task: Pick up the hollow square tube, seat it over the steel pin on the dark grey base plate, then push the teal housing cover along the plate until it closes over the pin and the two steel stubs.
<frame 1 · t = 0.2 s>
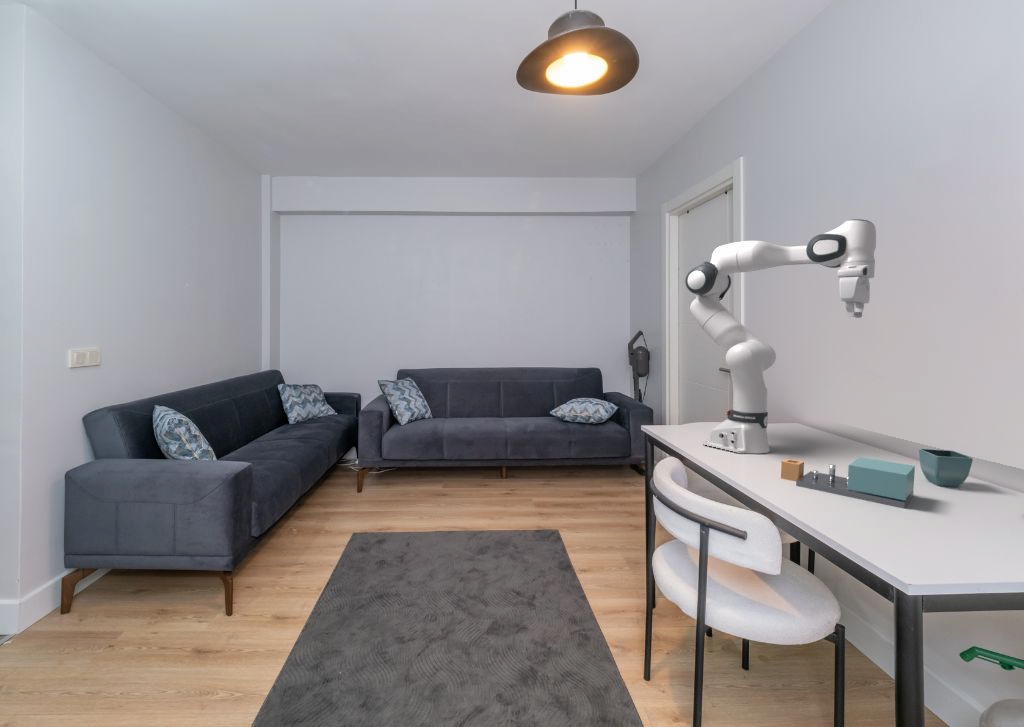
hand: (854, 317, 154), 47 cm above the table, fingers open, 8 cm apart
hollow square tube: (792, 478, 145), on the table
flower pot: (942, 484, 140), on the table
housing cover: (881, 477, 129), point 5 cm above the table, slide at 0.0 cm
housing base: (852, 490, 134), on the table
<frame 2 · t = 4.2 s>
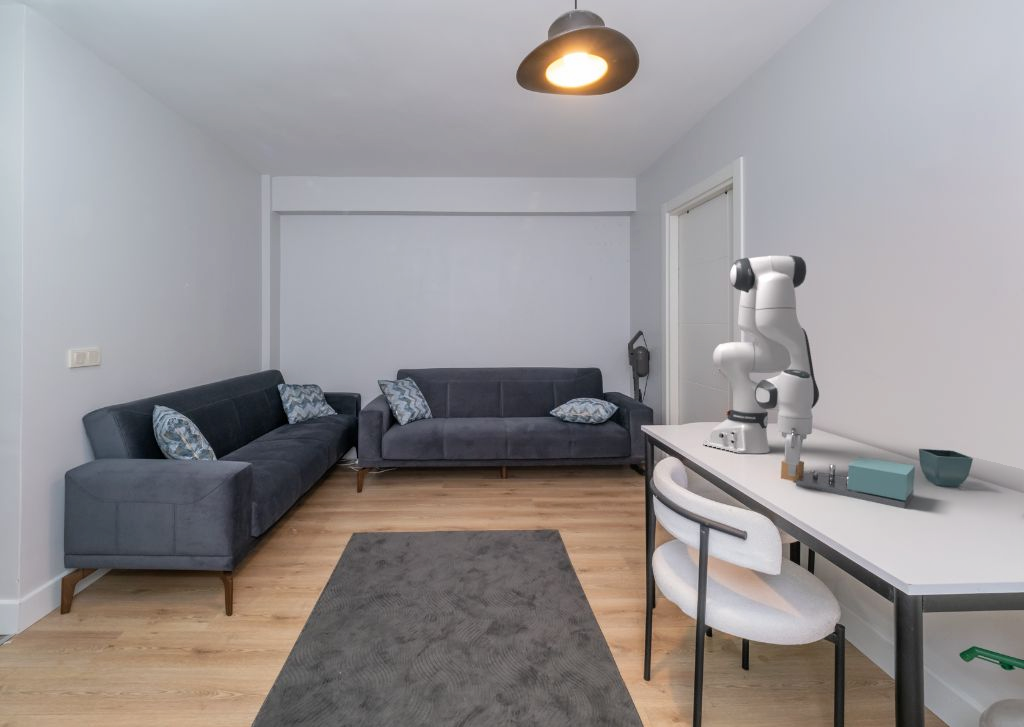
hand: (792, 472, 145), 2 cm above the table, fingers closed on hollow square tube, 5 cm apart
hollow square tube: (792, 478, 145), on the table, touching gripper
everything else where it was.
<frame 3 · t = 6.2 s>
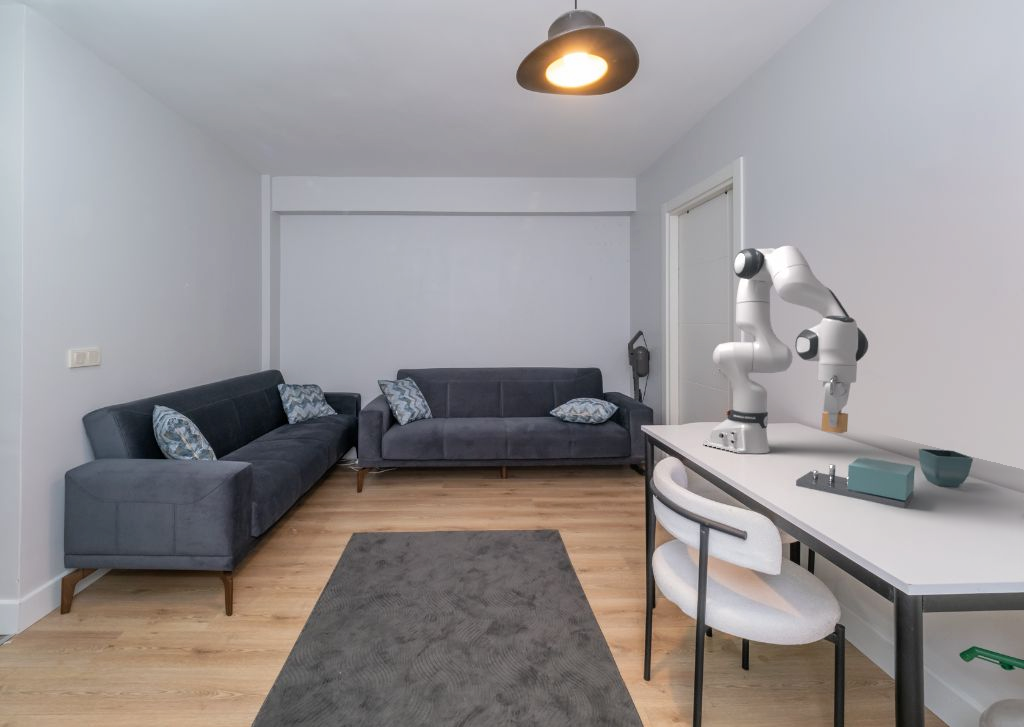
hand: (834, 425, 136), 17 cm above the table, fingers closed on hollow square tube, 5 cm apart
hollow square tube: (834, 431, 136), point 16 cm above the table, touching gripper
everything else where it was.
when the fingers open (4 cm above the table, at t = 8.4 s): hollow square tube stays where it is, resting on housing base.
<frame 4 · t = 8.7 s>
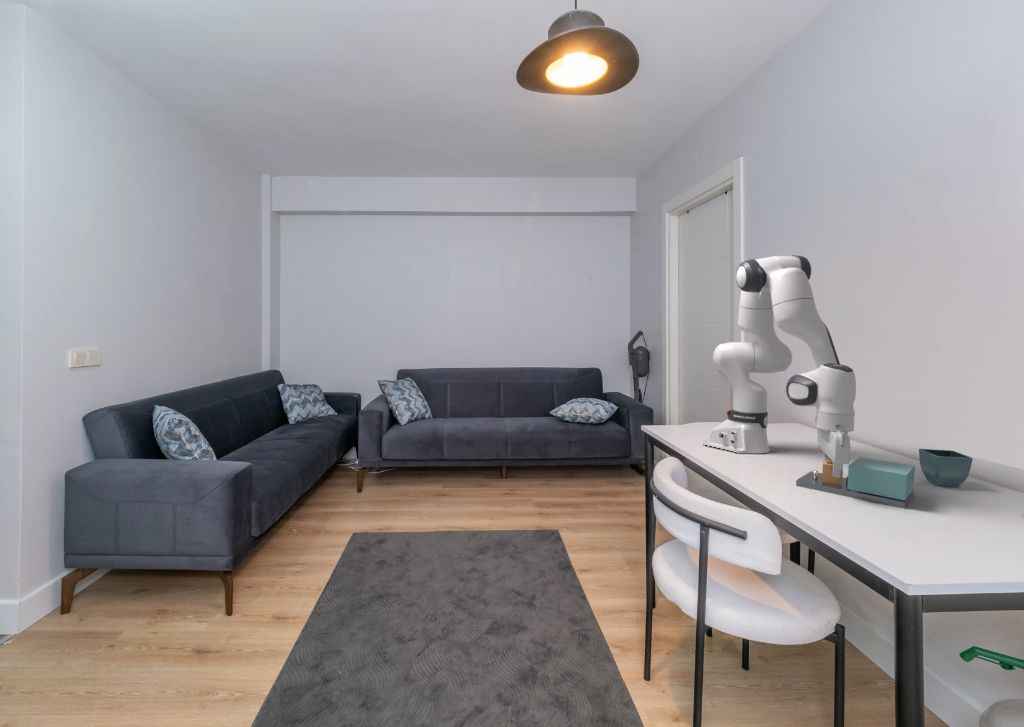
hand: (832, 471, 137), 4 cm above the table, fingers open, 8 cm apart
hollow square tube: (831, 480, 138), point 1 cm above the table, touching housing base
everything else where it was.
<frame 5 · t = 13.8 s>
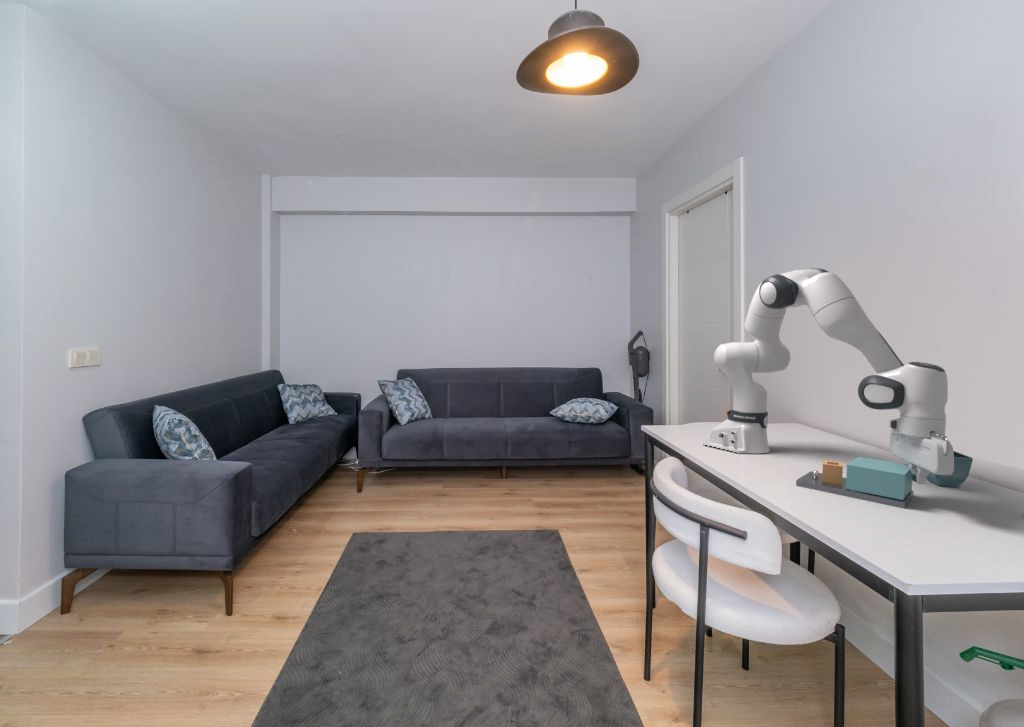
hand: (918, 482, 124), 5 cm above the table, fingers closed
housing cover: (879, 477, 130), point 5 cm above the table, slide at 0.4 cm, touching gripper
everything else where it was.
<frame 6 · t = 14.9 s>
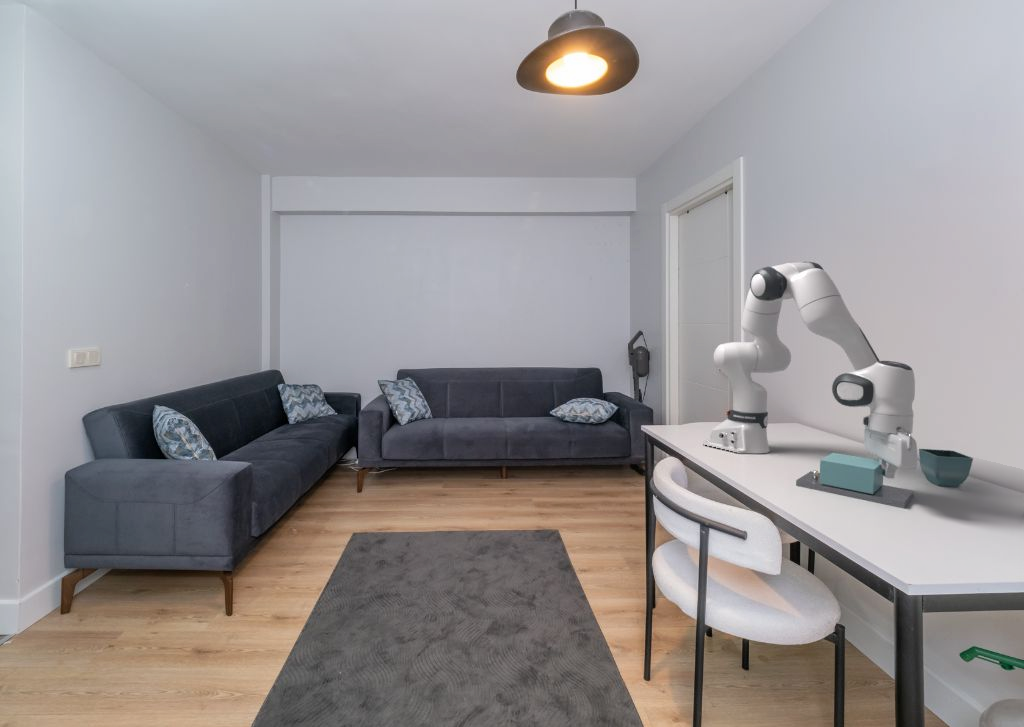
hand: (887, 476, 128), 5 cm above the table, fingers closed
housing cover: (851, 472, 134), point 5 cm above the table, slide at 6.5 cm, touching gripper
everything else where it was.
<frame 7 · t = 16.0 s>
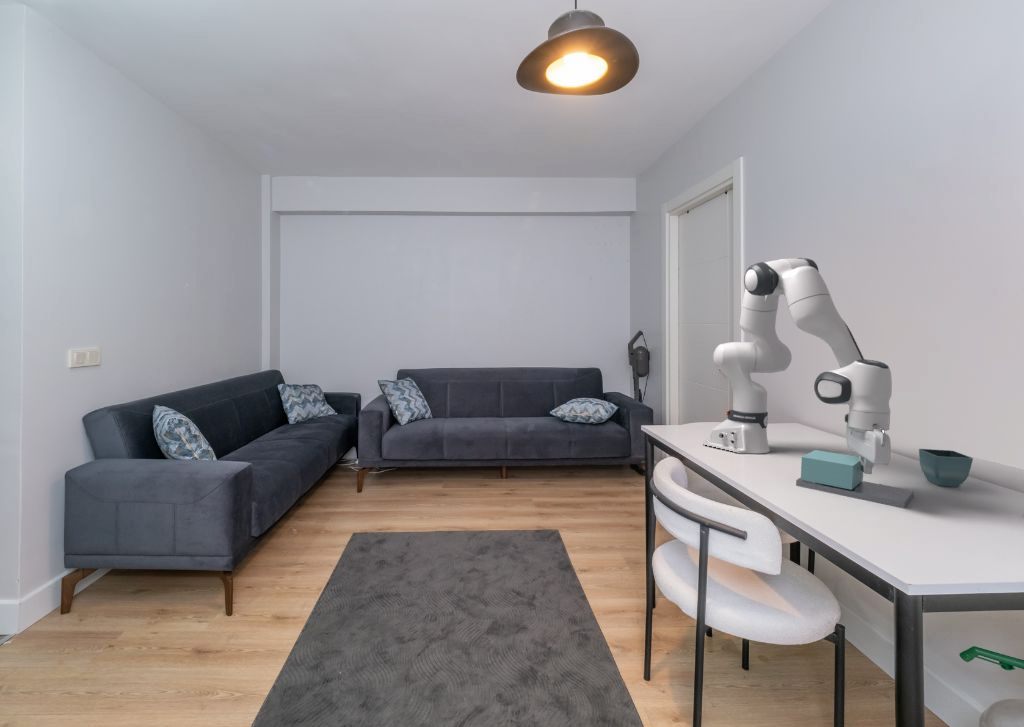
hand: (866, 472, 132), 6 cm above the table, fingers closed
housing cover: (832, 468, 137), point 5 cm above the table, slide at 11.0 cm, touching gripper
everything else where it was.
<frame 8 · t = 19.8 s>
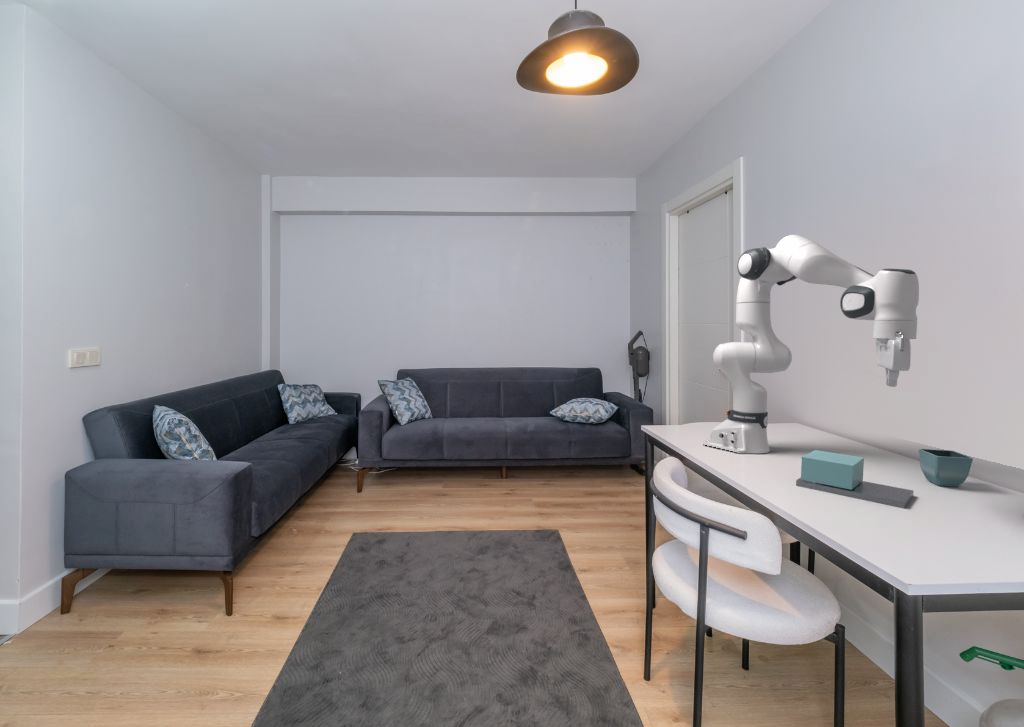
hand: (891, 386, 127), 29 cm above the table, fingers closed
housing cover: (832, 468, 137), point 5 cm above the table, slide at 11.0 cm
everything else where it was.
at the end: hollow square tube 0.1 cm from the target spot on the housing base, point 1.5 cm above the housing base's base; housing cover slide at 11.0 cm; the gripper is holding nothing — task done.
